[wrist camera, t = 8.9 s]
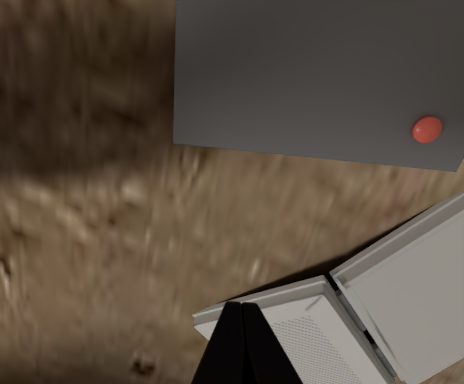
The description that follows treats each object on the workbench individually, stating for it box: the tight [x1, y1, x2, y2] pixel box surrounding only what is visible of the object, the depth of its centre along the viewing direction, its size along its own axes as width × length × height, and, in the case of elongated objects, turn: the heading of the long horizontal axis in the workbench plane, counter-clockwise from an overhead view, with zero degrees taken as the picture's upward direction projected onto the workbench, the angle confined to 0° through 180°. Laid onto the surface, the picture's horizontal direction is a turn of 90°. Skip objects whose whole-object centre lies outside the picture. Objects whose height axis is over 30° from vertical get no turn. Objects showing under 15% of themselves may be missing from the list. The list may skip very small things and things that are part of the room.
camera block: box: [173, 0, 464, 172], centre depth 15 cm, size 15×9×4 cm, turn 83°
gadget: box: [192, 191, 464, 384], centre depth 26 cm, size 23×15×4 cm, turn 123°
